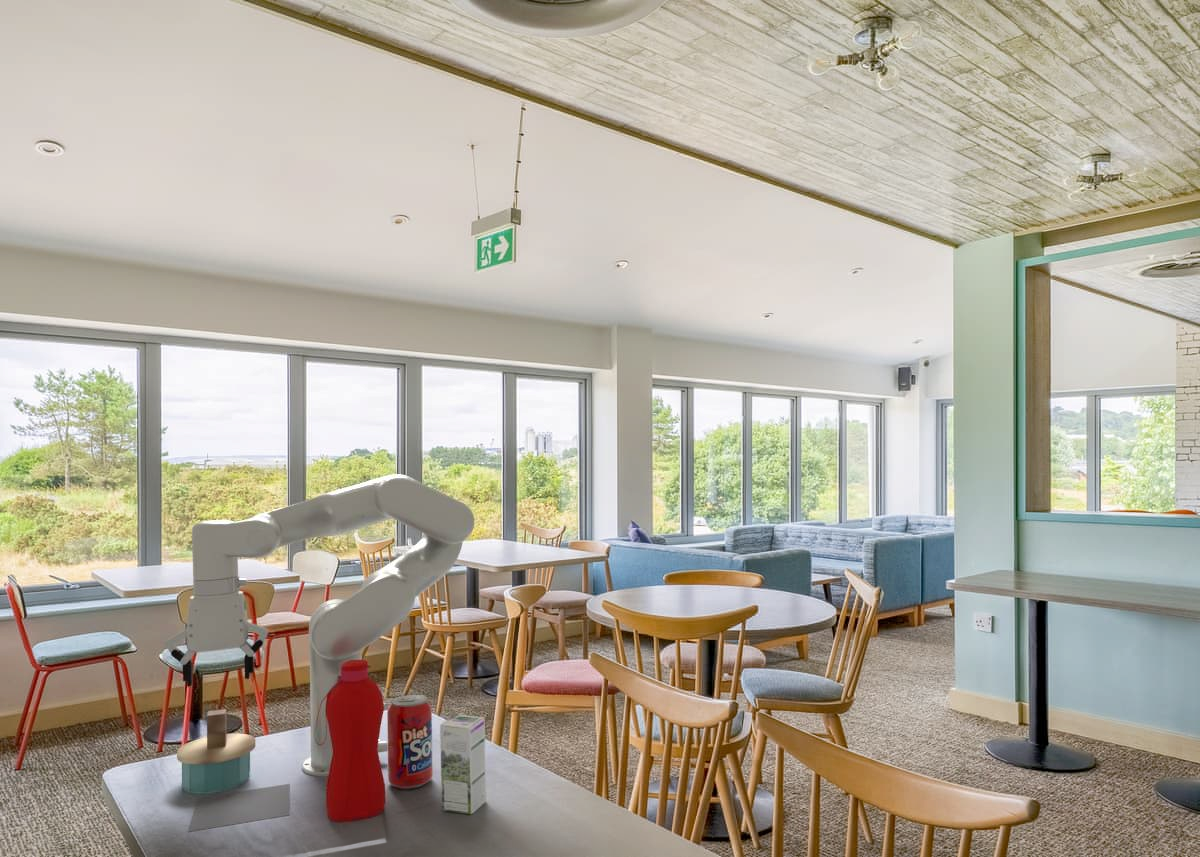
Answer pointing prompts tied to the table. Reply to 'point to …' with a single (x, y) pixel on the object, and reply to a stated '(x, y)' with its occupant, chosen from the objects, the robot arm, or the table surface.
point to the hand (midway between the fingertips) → (219, 680)
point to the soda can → (409, 741)
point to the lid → (216, 743)
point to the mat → (241, 807)
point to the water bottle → (354, 745)
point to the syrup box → (463, 764)
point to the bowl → (215, 775)
